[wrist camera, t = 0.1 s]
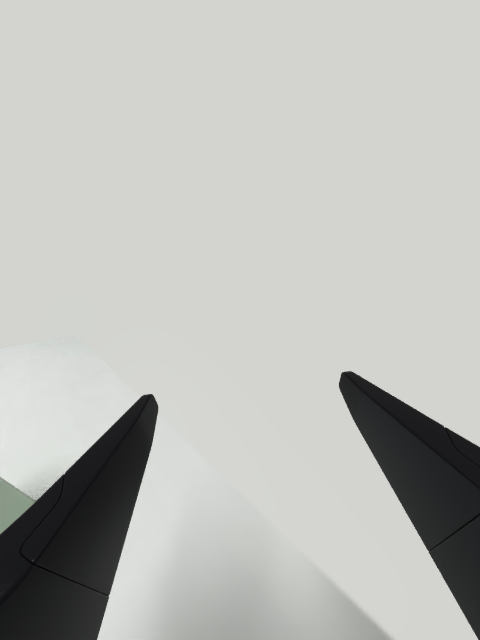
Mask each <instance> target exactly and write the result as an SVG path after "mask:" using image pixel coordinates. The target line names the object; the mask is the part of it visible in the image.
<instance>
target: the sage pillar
mask: <svg viewBox="0 0 480 640" xmlns="http://www.w3.org/2000/svg"><path fill="white" fill-rule="evenodd" d="M34 503H35V500H34V499H32V498H31V497H29V496H28V495H26V494H25V493H23V492H22V491H20V490H19V489H17V488H16V487H14V486H13V485H11V484H10V483H8V482H7V481H5V480H4V479H2V478H1V477H0V534H1V533H2V532H3V531H4V530H5V529H7V528H8V527H9V526H10V525H11V524H12V523H13V522H14V521H15V520H16V519H18V518H19V517H20V516H21V515H22V514H23V513H24V512H25V511H26V510H27V509H28V508H29V507H30V506H32V505H33V504H34Z"/></svg>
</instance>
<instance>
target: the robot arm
mask: <svg viewBox="0 0 480 640" xmlns="http://www.w3.org/2000/svg"><path fill="white" fill-rule="evenodd" d="M339 388H340V391H341V393H342V395H343V398H344V400H345V402H346V404H347V407H348V409H349V411H350V413H351V415H352V417H353V420H354V422H355V423H356V425H357V427H358V429H359V430H360V432H361V434H362V436H363V437H364V439H365V441H366V443H367V444H368V446H369V448H370V450H371V452H372V453H373V455H374V457H375V459H376V460H377V462H378V464H379V466H380V467H381V469H382V471H383V473H384V474H385V476H386V478H387V480H388V481H389V483H390V485H391V487H392V488H393V490H394V492H395V494H396V495H397V497H398V499H399V501H400V502H401V504H402V506H403V507H404V509H405V511H406V513H407V515H408V516H409V518H410V520H411V522H412V523H413V525H414V527H415V529H416V530H417V532H418V534H419V536H420V537H421V539H422V541H423V543H424V545H425V546H426V548H427V550H428V551H429V554H430V555H431V557H432V559H433V561H434V562H435V564H436V566H437V568H438V569H439V571H440V572H441V574H442V576H443V578H444V580H445V582H446V583H447V585H448V587H449V588H450V590H451V592H452V594H453V596H454V597H455V599H456V601H457V603H458V604H459V606H460V608H461V610H462V611H463V613H464V615H465V617H466V618H467V620H468V622H469V624H470V625H471V627H472V629H473V631H474V632H475V634H476V636H477V638H478V640H480V447H478V446H477V445H475V444H473V443H472V442H470V441H468V440H466V439H465V438H463V437H461V436H459V435H458V434H456V433H454V432H453V431H451V430H449V429H448V428H444V426H442V425H441V424H439V423H438V422H436V421H434V420H432V419H431V418H429V417H427V416H426V415H424V414H422V413H421V412H419V411H417V410H416V409H414V408H412V407H411V406H409V405H407V404H405V403H404V402H402V401H401V400H399V399H397V398H396V397H394V396H392V395H390V394H389V393H387V392H385V391H384V390H382V389H380V388H379V387H377V386H375V385H373V384H372V383H370V382H368V381H367V380H365V379H363V378H362V377H360V376H359V375H357V374H355V373H353V372H350V371H349V372H342V374H341V378H340V382H339ZM157 414H158V404H157V402H156V400H155V398H154V396H153V395H152V394H148V395H143V396H142V397H141V398H140V399H139V400H138V401H137V402H136V403H135V404H134V405H133V406H132V407H131V408H130V409H129V410H128V411H127V412H126V413H125V414H124V415H123V416H122V417H121V418H120V419H119V420H118V421H117V422H116V423H115V424H114V425H113V426H112V427H111V428H110V429H109V430H108V431H107V432H106V433H105V434H104V435H103V436H102V437H101V438H100V439H99V440H98V441H97V442H96V443H94V444H93V445H92V446H91V447H90V448H89V449H88V450H87V451H86V452H85V453H84V454H83V455H82V456H81V457H80V458H79V459H78V460H77V461H76V462H75V463H74V464H73V465H72V466H71V467H70V468H69V469H68V470H67V471H66V473H65V474H64V475H62V476H61V477H60V478H59V479H58V480H57V481H56V482H55V483H54V484H53V485H52V486H51V487H50V488H49V489H48V490H47V491H46V492H45V493H44V494H43V495H42V496H41V497H40V498H39V499H38V500H37V501H36V502H35V503H34V504H33V505H32V506H30V507H29V508H28V509H27V510H26V511H25V512H24V513H23V514H22V515H21V516H20V517H19V518H18V519H16V520H15V521H14V522H13V523H12V524H11V525H10V526H9V527H8V528H7V529H5V530H4V531H3V532H2V533H1V534H0V640H97V638H98V634H99V631H100V627H101V624H102V620H103V617H104V613H105V610H106V606H107V602H108V599H109V594H110V591H111V588H112V584H113V581H114V577H115V574H116V570H117V567H118V563H119V560H120V556H121V553H122V549H123V545H124V542H125V538H126V535H127V531H128V528H129V524H130V521H131V517H132V514H133V510H134V507H135V503H136V500H137V496H138V493H139V489H140V485H141V482H142V478H143V475H144V471H145V468H146V464H147V461H148V457H149V454H150V450H151V446H152V442H153V436H154V431H155V425H156V420H157Z"/></svg>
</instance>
